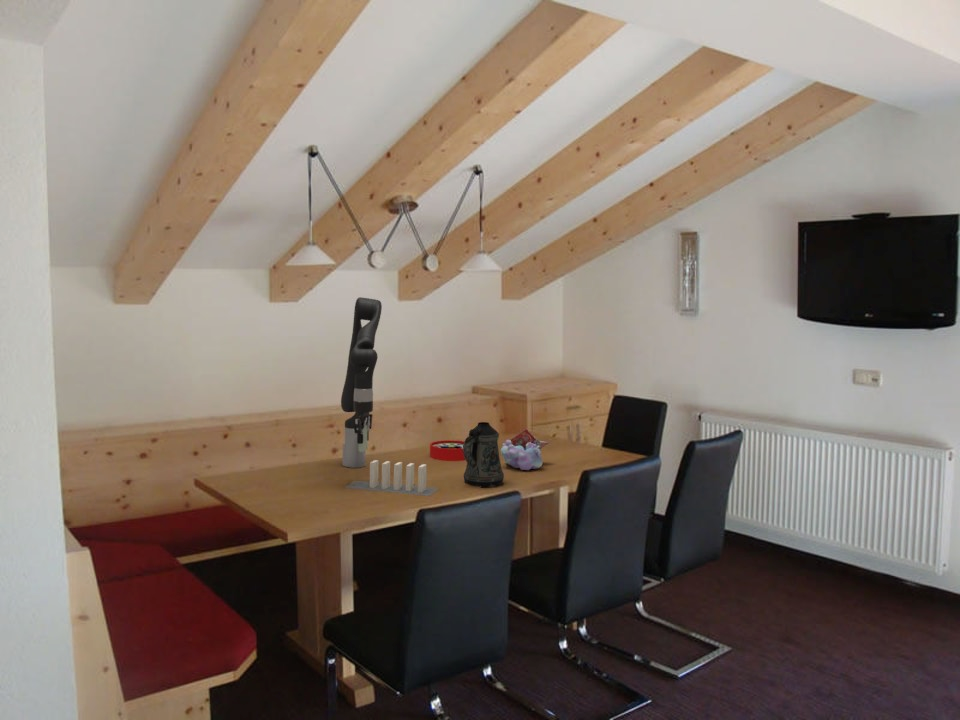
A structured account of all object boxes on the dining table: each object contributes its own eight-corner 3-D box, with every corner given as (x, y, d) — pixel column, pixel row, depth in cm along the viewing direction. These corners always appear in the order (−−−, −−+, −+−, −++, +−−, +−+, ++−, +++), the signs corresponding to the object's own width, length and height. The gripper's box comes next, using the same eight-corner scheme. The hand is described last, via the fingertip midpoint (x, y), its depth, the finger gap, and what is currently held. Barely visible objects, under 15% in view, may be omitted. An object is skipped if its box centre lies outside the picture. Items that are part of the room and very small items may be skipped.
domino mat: (344, 488, 319) (344, 487, 319) (356, 481, 331) (356, 480, 331) (429, 497, 310) (429, 495, 310) (438, 489, 322) (438, 488, 322)
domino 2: (369, 487, 320) (370, 462, 319) (374, 484, 325) (374, 460, 324) (373, 488, 320) (373, 462, 319) (378, 485, 325) (378, 460, 324)
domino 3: (381, 488, 319) (382, 463, 318) (386, 485, 324) (386, 461, 323) (385, 489, 319) (385, 464, 318) (390, 486, 323) (390, 461, 322)
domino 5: (405, 491, 316) (406, 465, 315) (410, 488, 321) (410, 463, 320) (409, 491, 316) (410, 466, 315) (413, 488, 321) (414, 463, 320)
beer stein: (506, 479, 341) (508, 420, 338) (498, 491, 322) (500, 428, 319) (468, 476, 344) (469, 418, 342) (457, 488, 325) (459, 426, 323)
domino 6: (417, 492, 315) (418, 466, 314) (422, 489, 320) (422, 464, 319) (421, 492, 315) (422, 467, 314) (426, 489, 320) (426, 464, 319)
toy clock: (472, 449, 372) (428, 448, 373) (471, 462, 373) (428, 460, 373) (473, 440, 392) (431, 439, 392) (472, 452, 393) (431, 451, 393)
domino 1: (358, 451, 320) (358, 426, 319) (363, 449, 325) (363, 424, 324) (362, 451, 320) (362, 426, 319) (367, 449, 324) (367, 424, 324)
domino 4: (393, 489, 318) (394, 464, 317) (398, 486, 322) (398, 462, 321) (397, 490, 317) (397, 465, 316) (401, 487, 322) (402, 462, 321)
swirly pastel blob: (500, 462, 351) (522, 427, 351) (488, 450, 372) (509, 417, 372) (537, 484, 357) (559, 450, 357) (523, 471, 378) (544, 438, 378)
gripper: (361, 396, 328) (361, 438, 330) (347, 401, 314) (346, 444, 316) (379, 397, 326) (378, 439, 328) (365, 402, 312) (364, 446, 314)
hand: (362, 442), depth 322 cm, fingers closed on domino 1, 5 cm apart
